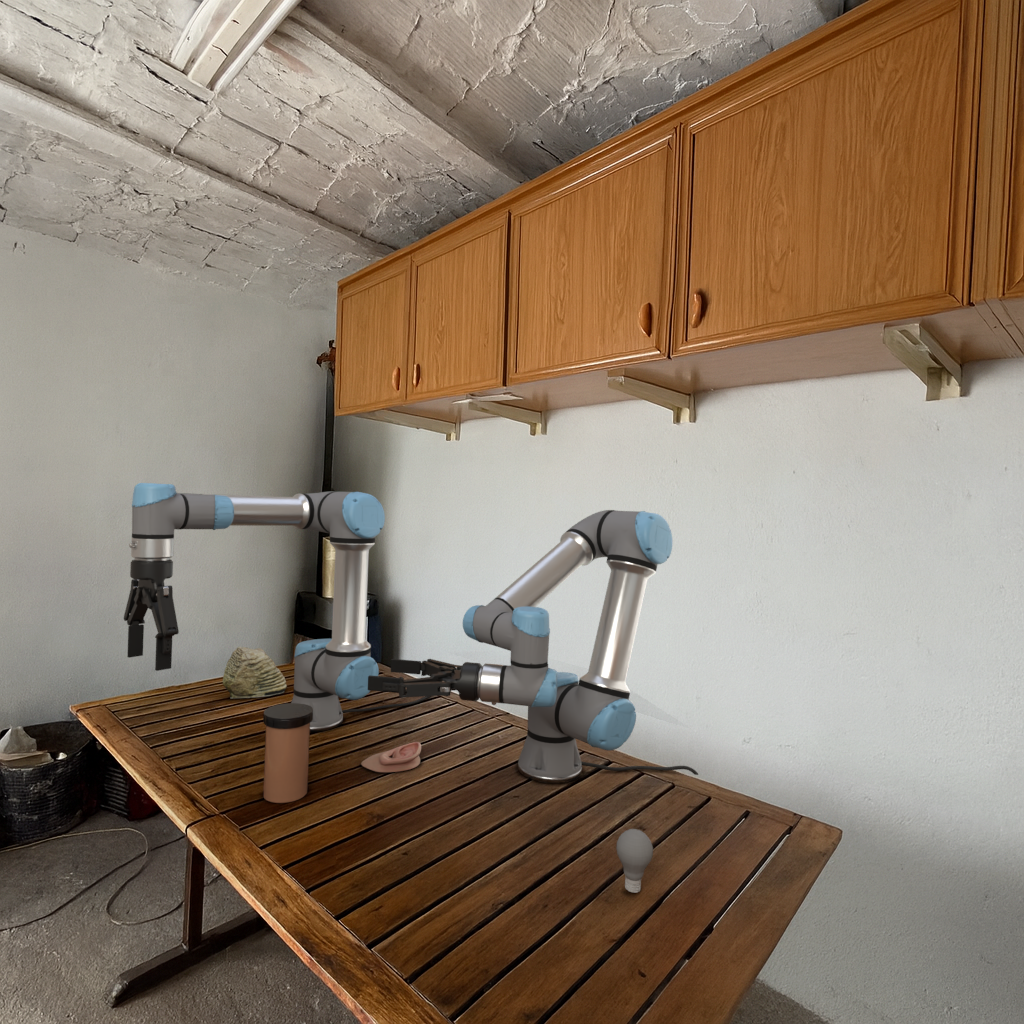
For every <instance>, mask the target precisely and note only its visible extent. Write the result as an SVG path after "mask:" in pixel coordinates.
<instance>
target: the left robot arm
mask: <svg viewBox="0 0 1024 1024" xmlns="http://www.w3.org/2000/svg"><path fill="white" fill-rule="evenodd" d="M385 515H386V513H385V511H384V508H383V505H382V503H381V502H380V501H379V500H378V498H377V497H375V495H373V494H370V493H367V492H363V491H362V492H361V491H337V490H336V491H335V490H333V491H332V490H330V491H321V492H311V493H295V494H294V495H293V496H276V495H275V496H274V495H273V496H272V495H248V494H247V495H246V494H244V495H243V494H220V493H219V494H218V493H217V494H216V493H215V494H214V493H189V492H187V493H186V492H177V491H176V486H175V485H174V484H173V483H152V482H139V483H137V484H136V485H135V486H134V488H133V492H132V501H131V520H132V521H131V542H130V543H128V547H129V548H130V549H131V550H130V556H131V558H133V559H132V560H131V561H130V567H129V568H130V571H129V574H130V575H129V576H130V578H131V581H130V590H129V594H128V598H127V603H126V607H125V610H124V615H123V621H124V622H126V624H127V626H128V629H127V630H128V631H127V658H135V657H142V656H144V635H145V634H144V630H145V625H144V624H145V623H146V621H145V619H144V618H145V616H146V615H147V612H148V609H149V610H151V613H152V618H153V620H154V624H155V627H156V631H157V633H156V635H155V636H154V638H155V661H154V663H155V665H154V668H155V669H154V670H155V671H157V672H159V671H164V670H169V669H172V659H173V657H172V655H173V637H175V636H176V635H179V632H180V631H179V625H178V619H177V615H176V614H177V613H176V609H175V603H174V597H173V595H174V593H173V585H165V580H167V579H171V578H172V577H173V575H174V573H173V572H174V561H173V560H172V559H171V558H173V557H174V554H175V553H174V552H175V530H213V531H215V530H224V529H228V528H230V526H233V527H234V526H237V527H238V526H240V527H243V526H246V527H247V526H249V527H250V526H258V527H259V526H268V527H269V526H276V527H277V526H282V527H284V526H285V527H286V526H287V527H288V526H289V527H290V526H291V527H293V528H294V529H296V530H308V531H309V530H310V531H316V532H319V533H325V534H329V544H330V545H331V546H332V547H333V548H334V550H335V551H334V572H333V573H334V577H333V599H332V625H331V626H332V627H331V638H317V639H308V640H304V641H300V642H299V643H297V645H296V646H295V650H294V655H293V657H294V672H293V673H294V674H293V695H292V696H293V697H292V699H291V702H290V703H300V704H306V705H309V706H311V707H312V708H313V720H312V721H311V722H310V733H316V732H325V731H329V730H332V729H335V728H337V727H339V726H340V725H342V723H343V722H344V714H345V713H347V714H348V713H361V712H369V711H376V710H380V709H382V710H383V709H388V708H396V707H397V708H398V707H404V706H411V705H414V704H417V703H420V702H422V701H424V700H426V699H429V698H431V697H432V696H422V697H421V698H419V699H416V700H413V701H408V702H402V703H392V704H391V703H390V704H385V705H379V706H373V707H366V708H352V709H342V706H341V702H340V699H339V698H341V699H342V700H343V699H344V700H348V701H349V700H350V701H357V700H360V699H362V698H364V697H365V696H367V695H368V694H370V692H371V690H368V676H369V675H370V676H379V674H380V672H379V671H380V670H379V669H380V668H379V665H378V663H377V662H376V660H375V659H374V657H371V652H372V649H371V648H372V644H371V643H370V642H368V640H367V639H366V631H367V607H368V606H367V605H368V604H367V602H368V582H369V581H368V579H369V555H370V553H369V552H370V550H371V548H372V547H374V545H375V544H376V536H378V535H379V534H380V533H381V530H383V528H384V526H385V522H386V521H385V520H386V516H385Z"/></svg>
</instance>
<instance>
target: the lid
mask: <svg viewBox="0 0 1024 1024" xmlns="http://www.w3.org/2000/svg"><path fill="white" fill-rule="evenodd" d="M312 720H313V708H312V707H311V706H309V705H306V704H300V703H291V702H289V703H287V702H286V703H280V704H279V703H278V704H275V705H272V706H269V707H267V708H266V709H264V711H263V716H262V722H263V724H264V726H265V727H266V726H268V727H271V728H278V729H288V728H296V727H301V726H304V725H306V724H308V723H310V722H311V721H312Z"/></svg>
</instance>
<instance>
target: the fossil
mask: <svg viewBox="0 0 1024 1024" xmlns="http://www.w3.org/2000/svg"><path fill="white" fill-rule="evenodd" d="M222 676H223V677H222V685H223V687H224V688H225V690H226V691H228V693H229V698H230V699H250V698H264V697H271V696H275V695H281V694H284V693H285V691H286V689H287V687H288V686H287V680H286V678H285V676H284V674H283V673H282V672H281V669H279V668H278V667H277V665H276V663H275V662H274V660H273V659H272V658H271V657H270V656H269V655H268V654H267V653H266V652H265V650H264V649H263V648H260V647H258V648H251V647H247V646H246V647H245V646H238V647H237V648H236V649H235V650H233V651H232V653H231V656H230V657H229V659H228V660H227V663H226V666H225V668H224V671H223V675H222Z"/></svg>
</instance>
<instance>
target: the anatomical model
mask: <svg viewBox="0 0 1024 1024" xmlns="http://www.w3.org/2000/svg"><path fill="white" fill-rule="evenodd" d="M421 752H422V744H421V742H419V741H413V742H410V743H405V744H402V745H399V746H397V747H394V748H392V749H388V750H386V751H382V752H378V753H375V754H373V755H370V756H368V757H367V758H365V759H364V760H362V761H361V762H360V765H361V766H362V767H363V768H365V769H367V770H369V771H373V772H375V773H394V772H395V773H396V772H403V771H408V770H411V769H415V768H416V767H418V766H419V765H420V764H421V757H420V754H421Z"/></svg>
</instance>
